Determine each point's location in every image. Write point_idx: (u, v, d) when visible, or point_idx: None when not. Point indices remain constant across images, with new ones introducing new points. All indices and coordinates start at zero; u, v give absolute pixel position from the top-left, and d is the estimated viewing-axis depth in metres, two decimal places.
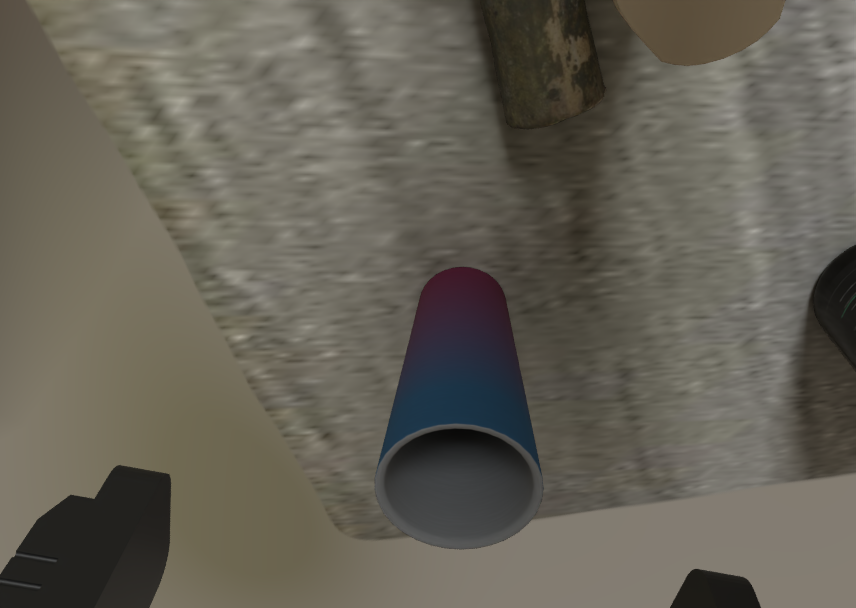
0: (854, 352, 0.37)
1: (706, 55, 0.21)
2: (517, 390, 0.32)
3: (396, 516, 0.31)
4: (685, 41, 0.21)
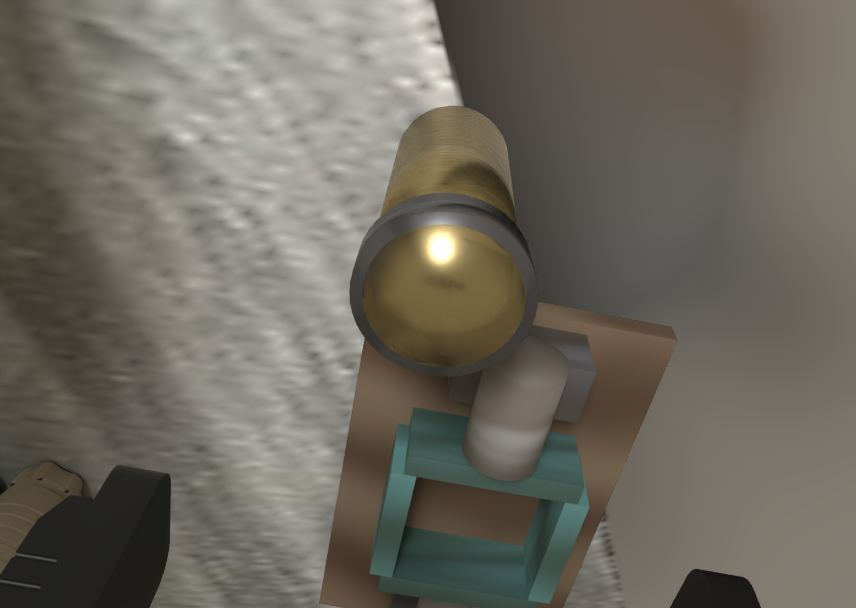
0: None
1: None
2: None
3: None
4: None
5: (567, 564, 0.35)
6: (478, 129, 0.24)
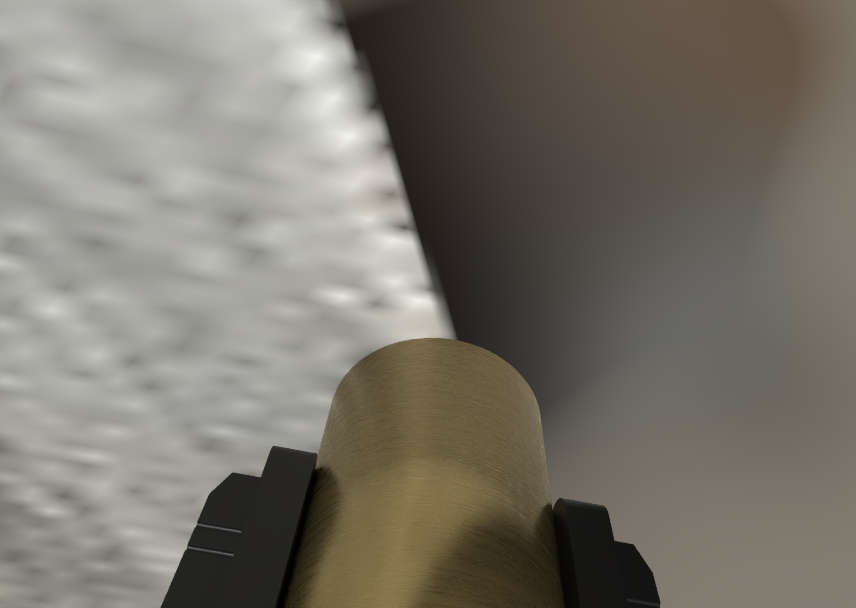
0: None
1: None
2: None
3: None
4: None
5: None
6: (486, 420, 0.11)
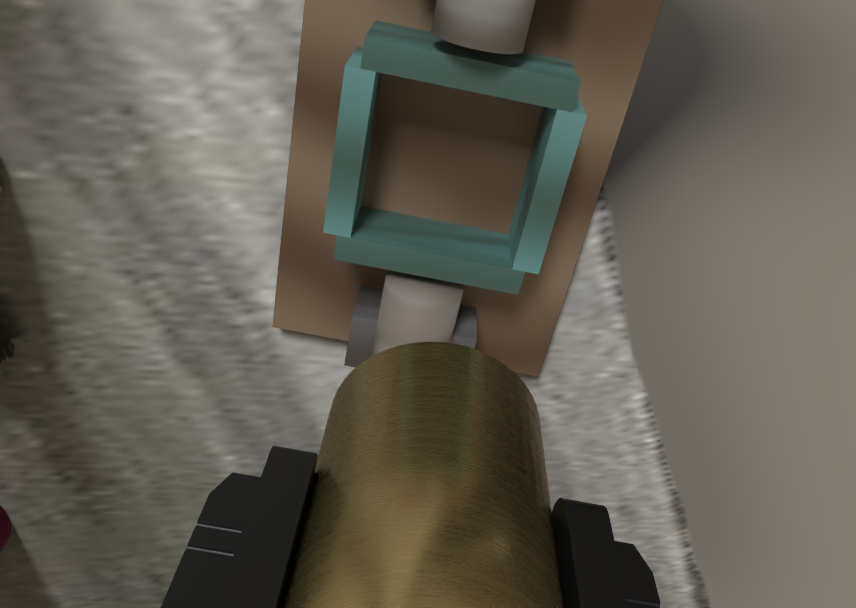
0: None
1: None
2: None
3: None
4: None
5: (560, 260, 0.30)
6: (485, 424, 0.11)
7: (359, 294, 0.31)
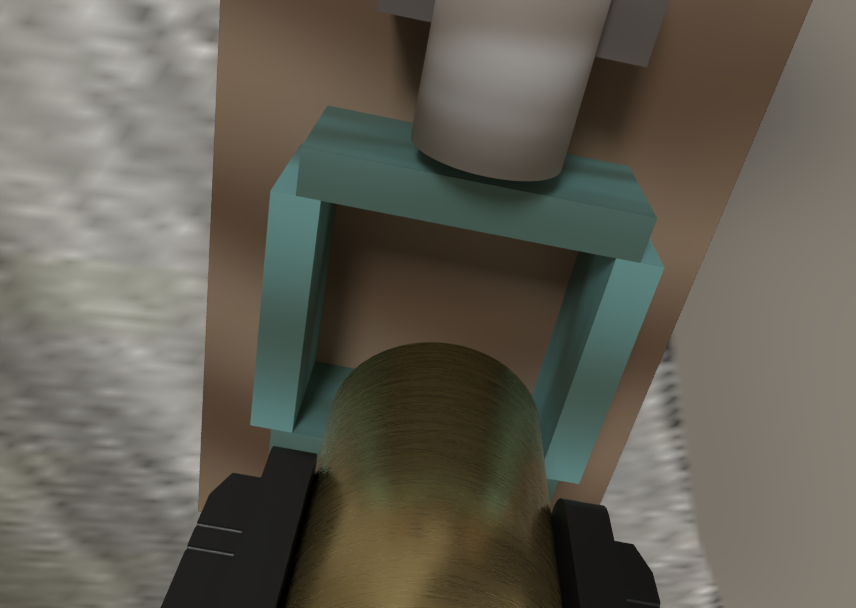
0: None
1: None
2: None
3: None
4: None
5: (605, 435, 0.21)
6: (485, 425, 0.11)
7: None
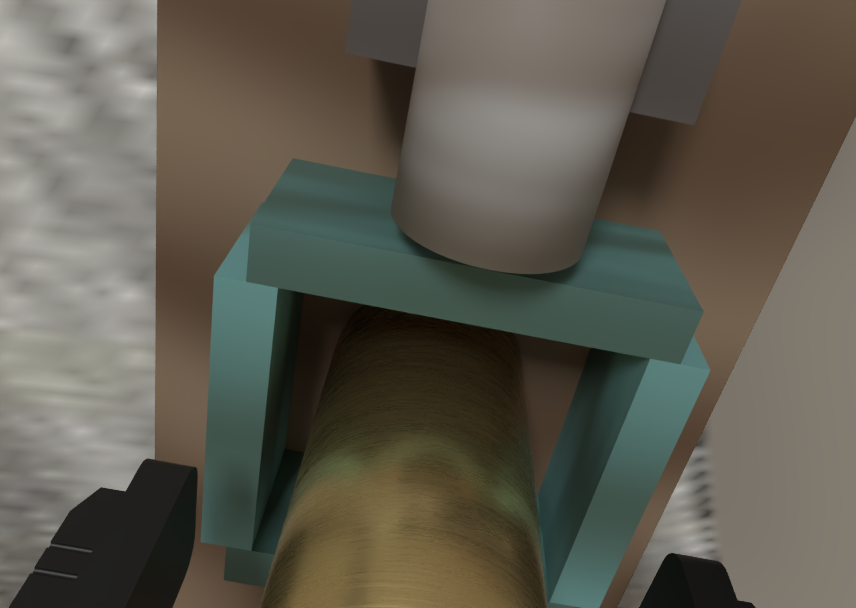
0: None
1: None
2: None
3: None
4: None
5: None
6: (470, 350, 0.13)
7: None
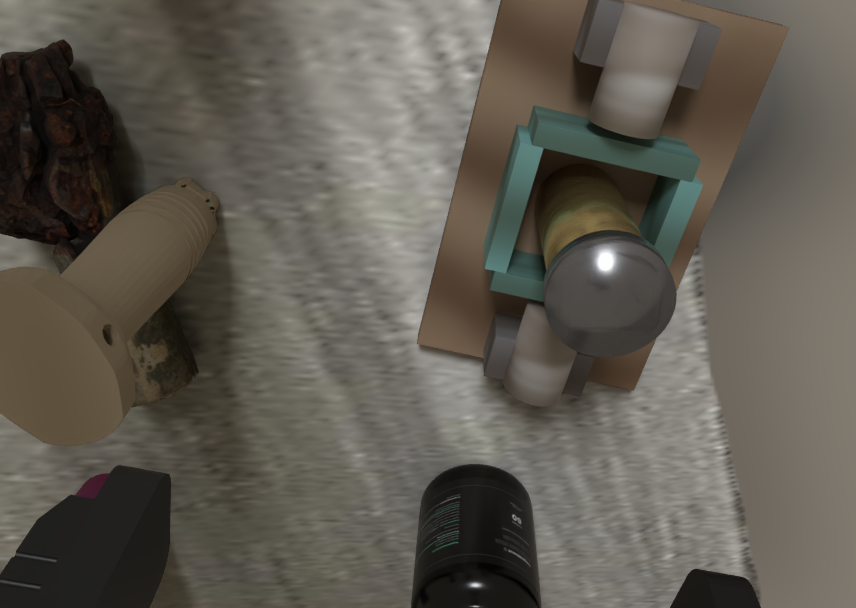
0: None
1: (77, 440, 0.26)
2: None
3: None
4: (57, 430, 0.25)
5: None
6: (607, 182, 0.33)
7: (496, 318, 0.38)
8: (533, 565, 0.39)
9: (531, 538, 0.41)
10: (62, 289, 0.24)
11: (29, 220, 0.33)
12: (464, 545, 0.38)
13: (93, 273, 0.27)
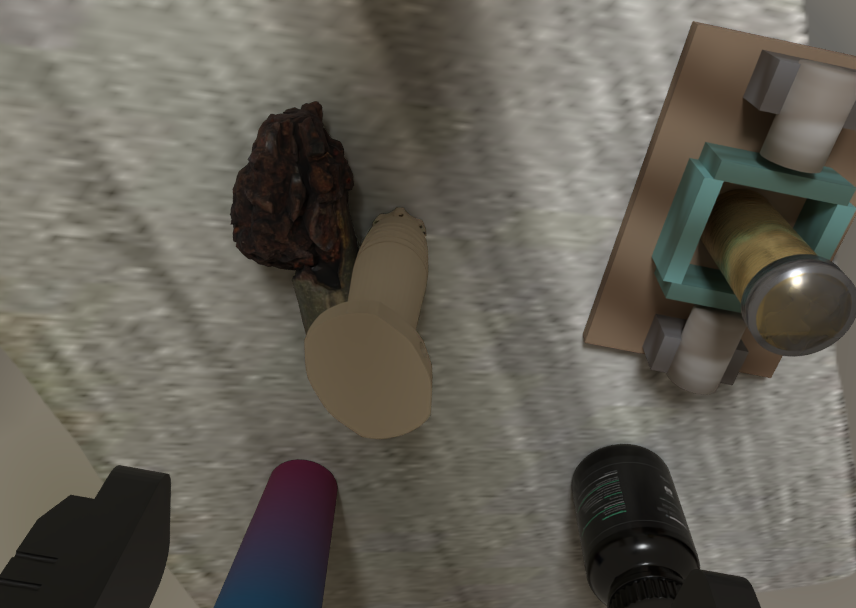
0: None
1: (389, 433, 0.32)
2: (306, 590, 0.44)
3: None
4: (374, 426, 0.32)
5: None
6: (770, 206, 0.39)
7: (659, 320, 0.44)
8: (688, 529, 0.46)
9: None
10: (392, 316, 0.30)
11: (287, 253, 0.40)
12: (631, 513, 0.45)
13: (385, 299, 0.33)
